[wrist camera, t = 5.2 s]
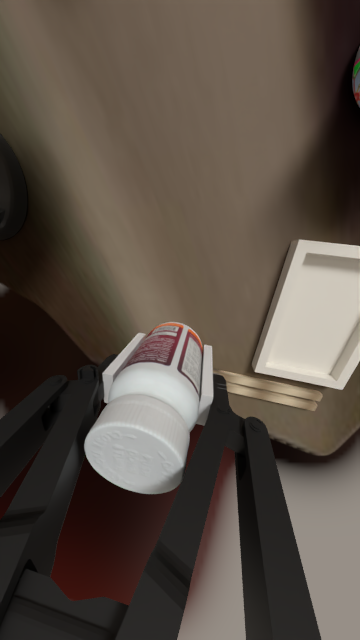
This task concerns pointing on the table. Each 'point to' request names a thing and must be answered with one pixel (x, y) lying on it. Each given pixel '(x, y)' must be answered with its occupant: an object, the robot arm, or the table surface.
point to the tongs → (270, 390)
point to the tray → (314, 316)
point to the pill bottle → (150, 413)
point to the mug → (356, 78)
